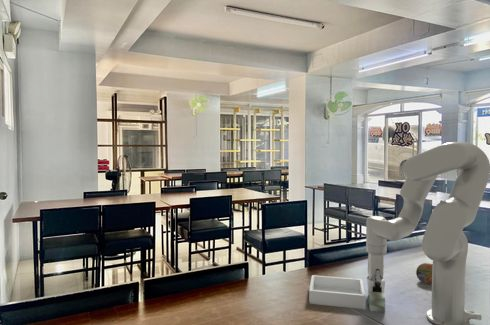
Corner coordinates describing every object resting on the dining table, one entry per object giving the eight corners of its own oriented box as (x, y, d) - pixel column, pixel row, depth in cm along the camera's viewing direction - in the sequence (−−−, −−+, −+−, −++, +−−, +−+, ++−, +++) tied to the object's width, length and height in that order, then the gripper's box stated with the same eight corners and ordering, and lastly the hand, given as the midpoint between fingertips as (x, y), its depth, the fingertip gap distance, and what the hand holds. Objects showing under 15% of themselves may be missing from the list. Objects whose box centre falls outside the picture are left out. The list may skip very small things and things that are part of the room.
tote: (361, 291, 140) (362, 279, 140) (365, 309, 125) (365, 295, 124) (311, 286, 145) (311, 275, 145) (309, 303, 130) (309, 290, 129)
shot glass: (386, 300, 132) (387, 282, 132) (368, 298, 133) (368, 280, 133) (383, 292, 139) (383, 275, 138) (365, 291, 140) (365, 274, 140)
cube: (383, 306, 127) (383, 292, 127) (384, 312, 123) (385, 298, 122) (368, 304, 129) (368, 291, 128) (370, 310, 124) (370, 297, 124)
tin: (416, 282, 149) (416, 262, 149) (416, 279, 152) (416, 260, 151) (456, 288, 142) (457, 268, 142) (456, 285, 145) (456, 266, 144)
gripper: (364, 241, 144) (363, 283, 145) (368, 254, 128) (367, 301, 128) (383, 242, 143) (383, 285, 143) (390, 255, 126) (389, 303, 127)
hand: (375, 292), depth 136 cm, fingers open, 6 cm apart
